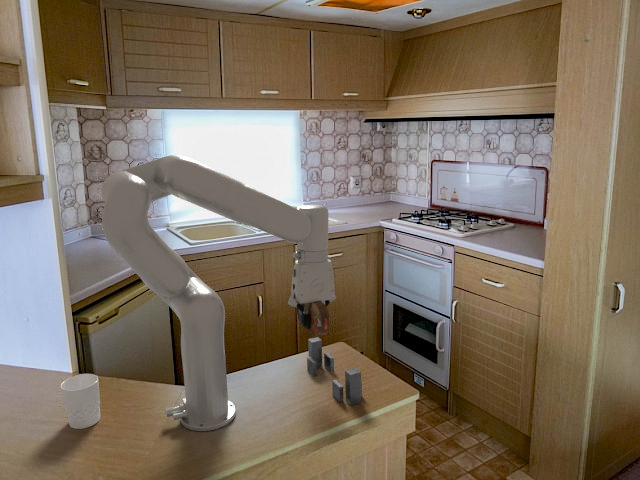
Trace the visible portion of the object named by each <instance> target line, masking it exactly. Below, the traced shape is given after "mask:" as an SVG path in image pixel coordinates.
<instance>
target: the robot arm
mask: <svg viewBox="0 0 640 480" xmlns="http://www.w3.org/2000/svg"><path fill="white" fill-rule="evenodd" d="M100 192H101V194H100V195H101V197H102V198H101V199H102V201H103V202H104V206H103V211H102V220H101V221H102V230H103V233H104V237H105V239H106V241H107V242H108V245H109V246H110V247H111V249H112V250H113V251H114V252H115V253H116V254H117V255H118V256H119V257H120V259H122V260H123V261H124V262H125V263H126V264H127V266H128V267H129V268H130V269H131V270H132V271H133V272H134V273H135V274H136V275H137V276H138V277H139V278H140V280H141V281H142V282H143V283H144V285H145V286H146V287H147V288H148V289H149V290H150V291H151V292H153V293H155V294H156V295H157V296H158V297H159V298H160V299H161V300H162V301H163V302H165V304H167V306H168V307H170V309H171V310H172V311H173V312H174V313H175V315H176V316H177V317H178V319H179V321H180V328H181V329H180V331H181V333H180V352H181V359H182V360H181V361H182V371H183V384H184V393H185V397H184V398H182V403H179V404H178V405H176V406H171V407H167V408H165V409H164V410H165V411H164V412H165V417H166V418H169V417H172V419H173V421H177V420H180V423H181V425H182V426H183V427H185V429H188V430H190V431H196V432H210V431H215V430H218V429H221V428H223V427H225V426H227V425H228V424H229V423H231V422H232V420H234V418H235V417H236V413H237V412H236V405H234V403H233V402H232V401H230V400H229V395H228V394H229V392H228V380H227V379H228V378H227V377H228V376H227V366H226V362H227V361H226V353H225V351H226V350H225V335H224V334H225V322H226V321H225V320H226V311H225V310H226V309H225V306H224V302H223V301H222V299H221V297H220V296H219V294H218V293H217V292H216V291H215V290H214V289H213V288H211V286H209V285H208V284H206V283H205V282H204V281H203V280H202V279H201V278H200V277H199V276H198V275H197V274H196V273H195V271H193V270H192V269H191V268H190V267H189V266H188V265H187V263H186V261H185V259H184V258H182V256H181V255H180V254H178V253H177V252H176V251H175V250H174V249H172V248H171V247H170V246H169V245H168V244H167V243H166V242H165V241H164V240H163V239H162V238H161V236H160V235H159V234H158V233H157V232H156V231H155V230H154V228H153V227H152V226H151V224H150V223H149V219H148V214H149V209H150V207H151V203H152V202H154V201H159V200H160V199H162V198H166V197H168V196H170V195H171V196H174V197H176V198H178V199H181V200H183V201H186V202H188V203H191V204H193V205H196V206H198V207H200V208H203V209H205V210H208V211H210V212H212V213H215V214H217V215H219V216H221V217H224V218H226V219H229V220H230V221H233V222H236V223H240V224H243V225H247V226H249V227H251V228H254V229H258V230H260V231H263V232H265V233H267V234H269V235H271V236H274V237H276V238H279V239H281V240H284V241H286V242H288V243H291V244H297V245H296V247H297V248H296V252H295V251H294V252H292V254H291V256H292V258H293V259H296V260H295V261H294V265H293V271H292V277H291V295H290V296H289V299H288V302H287V304H288V305H289V306H291V307H293V308H296V309H297V308H298V309H299V310H300V311H301V322H302V325H303V326H304V327H305V328H306V329H310V314H309V313H308V309H309V303H313V302H323V303H324V304H325V306H326V307H328V306H329V305H330V303H332V302H334V301H335V300H336V299H337V296H336V294H335V275H334V269H333V268H334V267H333V264H332V260H331V259H329V210H328V208H327V207H326V206H325V205H323V204H322V205H321V204H303V205H300V206H298V205H297V206H295V205H289V204H288V203H286V202H283V201H281V200H279V199H276V198H275V197H273V196H270V195H267V194H265V193H264V192H261V191H259V190H258V189H256V188H254V187H252V186H250V185H248V184H246V183H243V182H242V181H240V180H237V179H235V178H233V177H231V176H229V175H226V174H224V173H222V172H221V171H218V170H216V169H214V168H212V167H209V166H208V165H206V164H203V163H201V162H199V161H196V160H195V159H192V158H189V157H186V156H182V155H176V154H174V155H172V154H171V155H166V156H163V157H160V158H157V159H154V160H151V161H147V162H145V163H141V164H138V165H135V166H131V167H128V168H125V169H121V170H118V171H115V172H113V173H111V174H110V175H108V176H107V177H106V179H104V181H103V183H102V184H101V191H100ZM297 301H298V302H299V303H298V302H297ZM303 326H302V327H303ZM304 327H303V328H304ZM305 328H304V329H305ZM306 329H305V330H306Z"/></svg>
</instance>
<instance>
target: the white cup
mask: <svg viewBox="0 0 640 480" xmlns="http://www.w3.org/2000/svg"><path fill="white" fill-rule="evenodd" d="M59 387H60V390H61V391H60V392H61V396H62V401H63V406H64V411H65V415H66V417H67V420H68V426H69V427H70V428H71V429H75V430H76V429H77V430H82V429H87V428H89V427H92V426H94V425H95V424H97V423H99V422H100V420H101V416H102V415H101V408H100V407H101V400H100V399H101V396H100V385H99V376H98V375H97V374H93V373H82V374H81V373H80V374H77V375H74V376H73V375H72V376H69V378H67V379H65V380H62V382H61V384H60V385H59Z"/></svg>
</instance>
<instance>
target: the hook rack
mask: <svg viewBox="0 0 640 480" xmlns="http://www.w3.org/2000/svg"><path fill="white" fill-rule="evenodd" d="M307 341H308V347H307V349H308V356H307V357H306V363H307V372H308V374H309V373H310V375H312V377H317V376H318V370H317V369H319V368H323V367H324V368H326V369H327V370H328V371H329V372H330V373H332V372H333V373H334V372H335V366H334V365H335V362H334V361H335V360H334V359H335V358H334V357H333V355H331V354H330V353H329V352H324V353H323V340H322V339H321V338H320V337H319V336H317V337H316V336H315V337H312V338H308V339H307ZM323 360H324V362H323ZM323 363H324V366H323ZM344 375H345V376H344V377H345V378H344V379H345V380H344V382H345V384H344V385H345V391H344V386H343V385H342V384H341V383H340V382H339V381H338V380H337V379H334V380H332V383H331V384H332V396H333V397H334V399H336V400H337V402H339V403H343V402H344V392H345V402H346V403H347V404H348V405H349V406H353V405H357V404H360V403H362V396H363V393H362V392H363V390H362V389H363V386H362V385H363V382H362V372H361V370H359V368H357V367H354V368H351V369H350V368H349V369H347V370H345V371H344Z"/></svg>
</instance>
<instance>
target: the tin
mask: <svg viewBox="0 0 640 480" xmlns="http://www.w3.org/2000/svg"><path fill="white" fill-rule="evenodd" d="M296 302H298V301H297V300H296ZM298 303H299V302H298ZM327 307H328V306H327ZM327 307H326V306H325V304H324V303H323V302H313V303H309V309H308V313H309V314H310V329H306V328H305V327H304V326H303V325H302V322H301V311H300V310H299V309H298V308H296V315H297V319H298V323H299V324H300V325H301V327H302V328H304V329H305V331H307V332H309V334H311V335H312V336H313V337H315V338H316V337H320V336H325V335H327V334H328V332H329V329H330V313H329V310H328V308H327Z"/></svg>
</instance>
